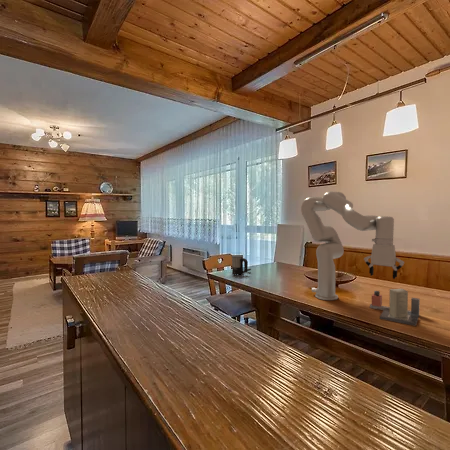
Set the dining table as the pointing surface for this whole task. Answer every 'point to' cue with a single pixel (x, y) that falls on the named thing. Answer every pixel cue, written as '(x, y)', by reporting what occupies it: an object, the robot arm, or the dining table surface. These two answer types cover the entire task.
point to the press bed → (399, 318)
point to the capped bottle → (376, 299)
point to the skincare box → (398, 303)
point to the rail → (414, 310)
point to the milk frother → (239, 265)
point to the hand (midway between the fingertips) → (382, 276)
